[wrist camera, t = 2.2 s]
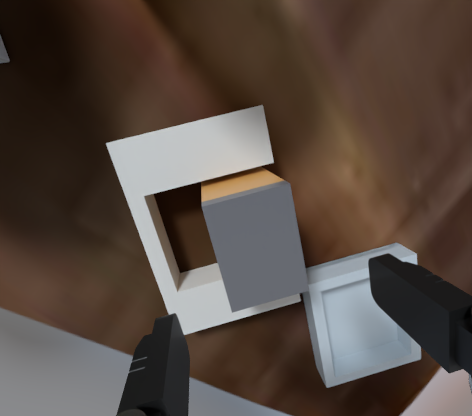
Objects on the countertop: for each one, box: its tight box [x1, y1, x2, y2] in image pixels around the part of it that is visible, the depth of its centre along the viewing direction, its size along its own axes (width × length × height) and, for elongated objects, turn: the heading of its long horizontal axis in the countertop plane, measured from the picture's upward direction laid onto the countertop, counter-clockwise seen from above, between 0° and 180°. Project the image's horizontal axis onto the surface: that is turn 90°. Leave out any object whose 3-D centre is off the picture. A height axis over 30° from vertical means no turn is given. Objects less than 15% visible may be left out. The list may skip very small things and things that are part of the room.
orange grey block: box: [201, 166, 309, 313], centre depth 20 cm, size 5×7×8 cm
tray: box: [302, 243, 421, 388], centre depth 27 cm, size 10×12×2 cm
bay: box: [106, 105, 301, 335], centre depth 22 cm, size 11×16×3 cm
